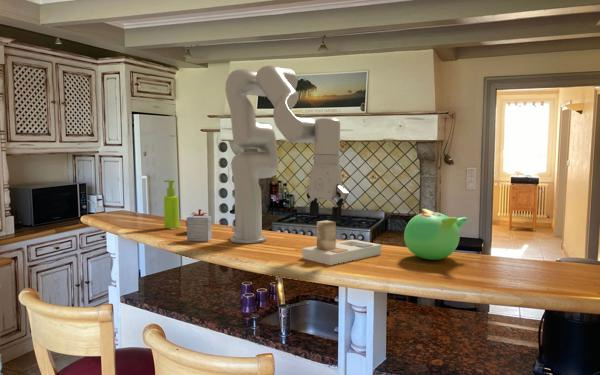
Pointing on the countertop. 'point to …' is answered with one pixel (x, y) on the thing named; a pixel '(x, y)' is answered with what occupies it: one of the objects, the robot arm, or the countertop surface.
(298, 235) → the countertop surface
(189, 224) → the grey gift box
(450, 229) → the toy bird
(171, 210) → the soap dispenser
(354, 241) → the socket block
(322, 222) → the maple peg
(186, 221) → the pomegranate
